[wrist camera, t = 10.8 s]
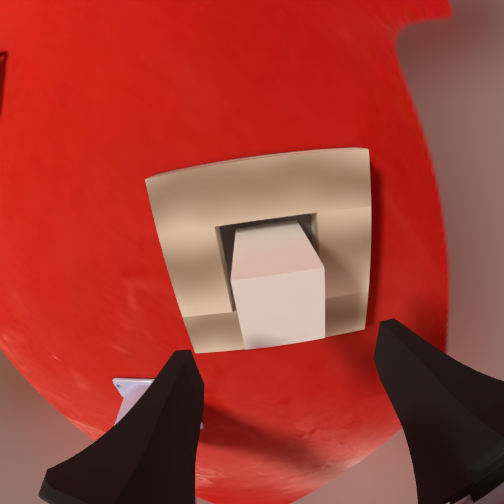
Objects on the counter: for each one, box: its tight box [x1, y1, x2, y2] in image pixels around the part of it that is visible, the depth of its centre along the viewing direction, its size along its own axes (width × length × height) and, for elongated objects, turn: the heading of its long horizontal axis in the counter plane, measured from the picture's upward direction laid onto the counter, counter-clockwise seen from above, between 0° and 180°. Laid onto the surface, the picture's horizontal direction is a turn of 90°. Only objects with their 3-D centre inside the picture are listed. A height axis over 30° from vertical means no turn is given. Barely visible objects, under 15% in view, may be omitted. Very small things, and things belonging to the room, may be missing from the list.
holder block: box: [145, 147, 371, 353], centre depth 18 cm, size 13×13×2 cm
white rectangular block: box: [231, 220, 325, 350], centre depth 16 cm, size 4×4×7 cm
